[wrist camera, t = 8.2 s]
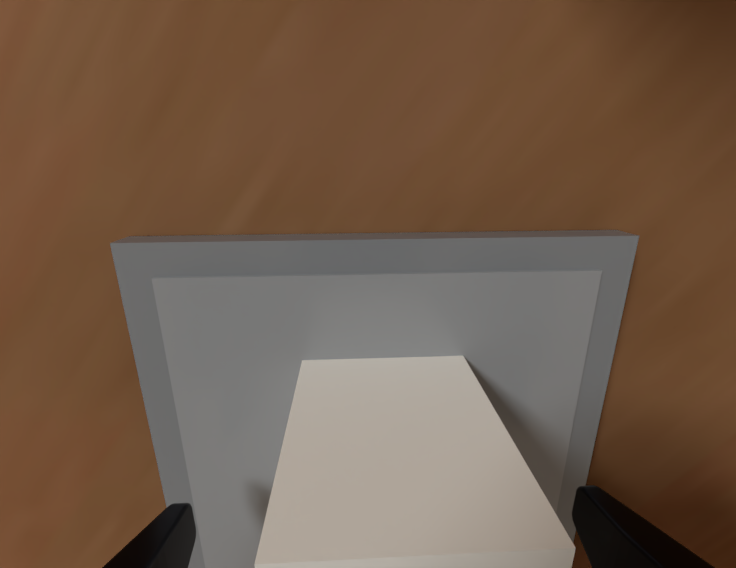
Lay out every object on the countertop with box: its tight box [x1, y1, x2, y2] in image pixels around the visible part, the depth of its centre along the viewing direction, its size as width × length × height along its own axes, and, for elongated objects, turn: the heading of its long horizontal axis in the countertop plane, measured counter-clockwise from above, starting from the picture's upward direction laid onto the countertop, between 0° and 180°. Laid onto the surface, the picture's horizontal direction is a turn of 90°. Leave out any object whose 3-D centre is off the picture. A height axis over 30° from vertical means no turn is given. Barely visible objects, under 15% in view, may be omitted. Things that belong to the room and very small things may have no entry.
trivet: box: [110, 230, 639, 568], centre depth 11 cm, size 12×12×1 cm
